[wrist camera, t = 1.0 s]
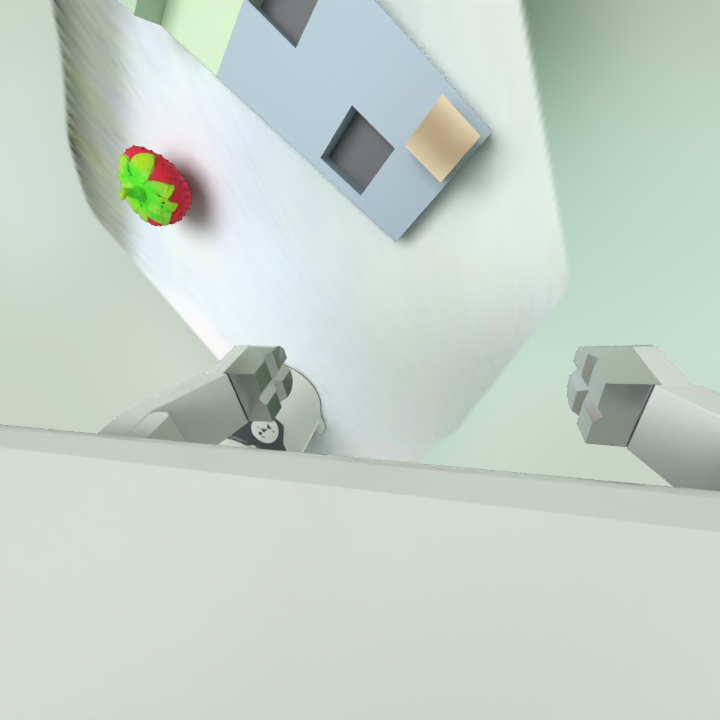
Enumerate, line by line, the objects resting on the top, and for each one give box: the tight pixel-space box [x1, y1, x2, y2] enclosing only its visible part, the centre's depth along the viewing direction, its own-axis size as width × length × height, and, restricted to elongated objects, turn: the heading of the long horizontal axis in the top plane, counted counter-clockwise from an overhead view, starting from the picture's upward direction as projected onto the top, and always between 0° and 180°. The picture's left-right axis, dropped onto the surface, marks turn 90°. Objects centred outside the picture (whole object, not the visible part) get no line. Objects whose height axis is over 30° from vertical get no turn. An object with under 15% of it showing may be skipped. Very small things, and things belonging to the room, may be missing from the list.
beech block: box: [405, 94, 480, 182], centre depth 27 cm, size 4×4×4 cm
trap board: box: [118, 0, 492, 242], centre depth 28 cm, size 12×28×6 cm, turn 51°
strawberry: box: [117, 145, 192, 226], centre depth 34 cm, size 6×7×10 cm
